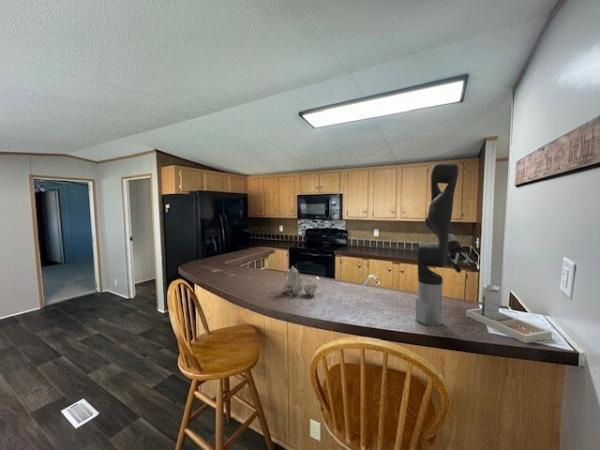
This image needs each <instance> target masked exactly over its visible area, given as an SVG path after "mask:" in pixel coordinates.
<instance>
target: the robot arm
mask: <svg viewBox="0 0 600 450" xmlns="http://www.w3.org/2000/svg"><path fill="white" fill-rule="evenodd" d="M458 177H459V166H458V165H457V164H455V163H454V164H453V163H435V164H433V166H432V169H431V174H430V195H431V200H430V203H429V206H428V213H427V217H426V218H425V219H424V223H425V226H426V228H427V229H429V230H430V231H431V232H432V233H433V234H434V235H435V236H436V237H437V239H438V243H437V244H434V243H433V244H430V243H421V244H419V245H418V246H417V250H416V251H417V253H416V258H417V297H416V298H415V320H416V321H417V322H420V323H421V324H423V325H424V326H431V327H437V326H438V327H439V326H441V325H443V323H442V321H443V282H444V281H443V276H442V275H441V274H439V273H437V272H435V271H433V270H432V269H430V268H429V267H435V268H443V267H445V266H446V265H448V266H451V267H452V268H453V269H454V271H455V272H456V273H458V274H460V273H461V272H462V268H461V267H460V265H459V264H458V263H459V262H460V263H464V264H467V265H469V267H470V269H471V270H472V272H473V273H476V272H477V271H478V267H477V265H476V264H475V263H476V262H477V261H478V260H477V259H476V258H475V257H474V255H473V254H472V253H471V251H468V252H464V250H463V249H464V248H463V246H462V245H461V243H460V242H459V240H458V239H457V237H456V236H455V235H454V234H453V232H452V231H451V229H450V227H451V222H452V217H453V208H454V207H453V206H454V197H455V191H456V186H457V182H458ZM439 184H444V185H445V184H447V185H446V187H445V188H444V189H443V190H442V191H441V189H440V187H439Z"/></svg>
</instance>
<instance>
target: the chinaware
mask: <svg viewBox="0 0 600 450" xmlns="http://www.w3.org/2000/svg"><path fill="white" fill-rule="evenodd" d="M284 277H285V279H286V282H285V284H284V286H283V289H284V291H285V294H286V293H289V294H298V293H300V294H301V291H302V290H303V291H304V293H305V294H306V295H307V296H308V295H310V296H309V297H313V296H312V295H314V294H315V293H316V291H317V289H318V285H317V284H312V283H307V284H303V285H302V282H303V277H302V278H301V277H300V272H299V269H297V268H295V267H294V266H293V265H292V266H291V268H289V269H287V270H285V273H284ZM298 295H299V294H298Z"/></svg>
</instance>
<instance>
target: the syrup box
mask: <svg viewBox="0 0 600 450" xmlns="http://www.w3.org/2000/svg"><path fill="white" fill-rule="evenodd" d="M500 295H501V287H500V286H497V285H492V284H484V285H483V287H482V301H481V308H482V315H481V316H484V317H486V318H488V319H491V320H498V319H500V318H499V312H500Z"/></svg>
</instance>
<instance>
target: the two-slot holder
mask: <svg viewBox="0 0 600 450" xmlns="http://www.w3.org/2000/svg"><path fill="white" fill-rule="evenodd" d="M465 316H466V317H468V318H470V319H472V320H474V321H477V322H479V323H481V324H484V325H485V326H488V327H490V328H492V329H494V330H497V331H499V332H500V333H503V334H505V335H507V336H509V337H511V338H513V339H517V341H520V342H522V343H525V344H528V343H529V344H530V343H533V342H534V341H535V342H538V341H537V340H540V339H546V340H548V339H547V338H551V339H552V336H553V332H552V331H550V330H548V329H545V328H543V327H541V326H538V325H535V324H532V323H530V322H527V321H526V320H525V321H524V320H522V319H519V318H517V317H515V316H511V315H510V314H508V313H504V312H502V311H499V318H498V320H491V319H488V318H486V317H484V316H482V307H480V308H479V307H478V308H472V309H465ZM515 325H516V326H515ZM517 325H518V326H517ZM509 326H510V327H509ZM519 326H520V327H519ZM522 327H523V328H525V329H523V328H522ZM526 329H527V330H526ZM529 330H530V331H533V333H530V331H529ZM534 332H535V333H534ZM540 341H541V340H540ZM535 342H534V343H535Z"/></svg>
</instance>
